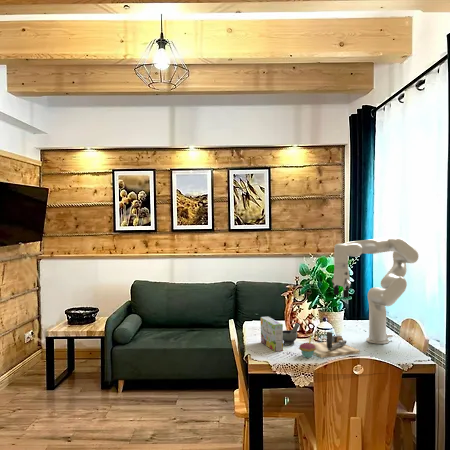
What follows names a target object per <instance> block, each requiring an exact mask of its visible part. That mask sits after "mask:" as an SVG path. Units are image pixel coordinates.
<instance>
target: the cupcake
mask: <svg viewBox="0 0 450 450" xmlns="http://www.w3.org/2000/svg"><path fill="white" fill-rule="evenodd" d="M311 341H312V334H310V336H309V340H308V341H307V342H303V343H301V344H299V348H298V349H299V350H300V351H301V353H302V356H303V357H304V358H312V357H313V355H314V354H313V352H314V351H315V350H316V347H315V346H314V345H313V344H312V343H311Z"/></svg>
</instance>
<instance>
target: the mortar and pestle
mask: <svg viewBox="0 0 450 450" xmlns="http://www.w3.org/2000/svg"><path fill="white" fill-rule="evenodd" d="M300 326H301V325H300V324H299V323H297V322H296V323H295V324H294V326H293V328H292V329H288V330H287V329H285V330H283V346H295V341H296V340H297V338H298V329H299V327H300Z"/></svg>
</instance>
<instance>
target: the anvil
mask: <svg viewBox="0 0 450 450" xmlns="http://www.w3.org/2000/svg"><path fill="white" fill-rule="evenodd" d="M338 337H342V338H343V336H342V335H340V334H339V335H332V342H334V343H335V342H337V338H338Z"/></svg>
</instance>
